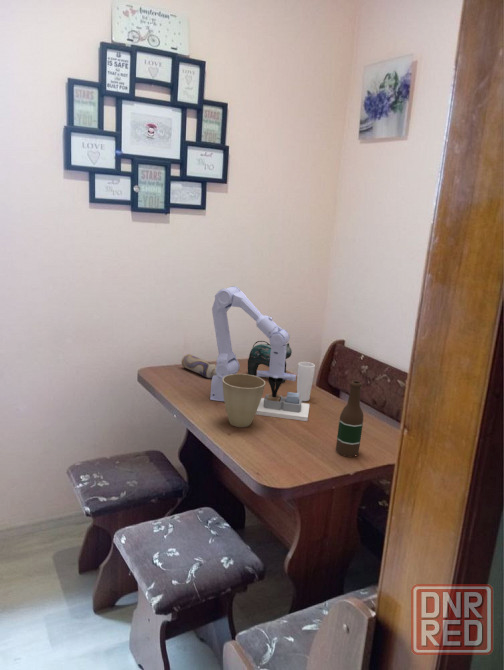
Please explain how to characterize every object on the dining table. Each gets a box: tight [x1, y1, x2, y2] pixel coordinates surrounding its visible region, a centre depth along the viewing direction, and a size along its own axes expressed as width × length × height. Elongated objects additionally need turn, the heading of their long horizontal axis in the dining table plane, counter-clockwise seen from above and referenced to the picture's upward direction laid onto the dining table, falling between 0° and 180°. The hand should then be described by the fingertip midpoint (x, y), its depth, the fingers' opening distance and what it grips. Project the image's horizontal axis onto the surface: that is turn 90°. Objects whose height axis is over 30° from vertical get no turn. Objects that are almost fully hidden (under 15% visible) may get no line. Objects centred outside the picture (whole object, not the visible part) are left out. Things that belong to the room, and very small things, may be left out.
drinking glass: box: [296, 361, 316, 402], centre depth 216 cm, size 7×7×15 cm
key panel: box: [255, 393, 310, 422], centre depth 204 cm, size 20×14×4 cm
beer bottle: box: [335, 380, 364, 457], centre depth 171 cm, size 8×8×24 cm
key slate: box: [286, 391, 299, 404], centre depth 202 cm, size 4×4×2 cm
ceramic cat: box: [247, 340, 293, 384], centre depth 237 cm, size 20×6×20 cm, turn 58°
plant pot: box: [222, 373, 266, 428], centre depth 188 cm, size 15×15×16 cm
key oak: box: [268, 393, 282, 402], centre depth 204 cm, size 4×4×2 cm
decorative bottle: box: [180, 353, 217, 379], centre depth 237 cm, size 26×8×7 cm, turn 46°
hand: (274, 396), depth 203 cm, fingers closed, pressing on key oak
